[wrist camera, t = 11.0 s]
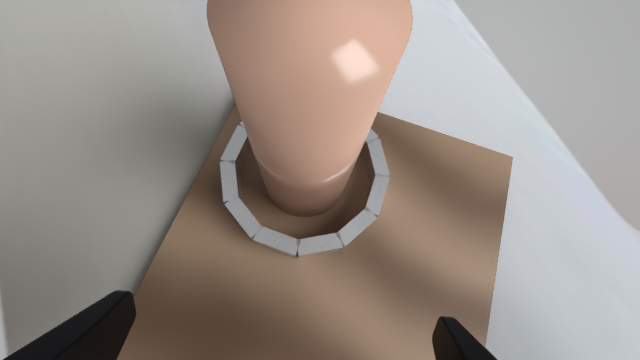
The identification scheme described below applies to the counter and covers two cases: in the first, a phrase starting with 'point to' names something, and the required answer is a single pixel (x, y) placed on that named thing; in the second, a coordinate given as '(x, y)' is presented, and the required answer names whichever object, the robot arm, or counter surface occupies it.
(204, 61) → the counter surface
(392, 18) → the beige rounded cylinder
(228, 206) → the steel collar
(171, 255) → the walnut board
